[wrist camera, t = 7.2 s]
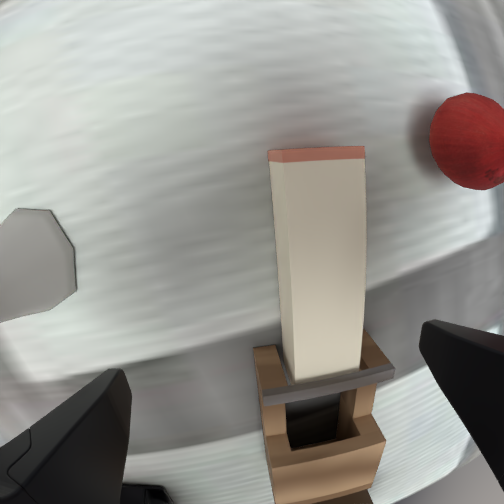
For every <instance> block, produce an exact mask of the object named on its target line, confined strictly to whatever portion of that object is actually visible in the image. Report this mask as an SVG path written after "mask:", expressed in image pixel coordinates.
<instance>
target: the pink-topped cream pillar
mask: <svg viewBox="0 0 504 504" xmlns="http://www.w3.org/2000/svg"><path fill="white" fill-rule="evenodd" d="M364 159H365V149H364V146H345V147H317V148H298V149H283V150H270V151H268V161H269V168H270V180H271V191H272V203H273V215H274V228H275V241H276V254H277V268H278V282H279V296H280V311H281V327H282V344H283V361H284V364H285V368H286V371H287V374H288V377H289V380H290V383H291V385H295V384H301V383H306V382H311V381H316V380H321V379H326V378H331V377H336V376H340V375H345V374H349V373H353V372H358V371H359V366H360V356H361V345H362V333H363V320H364V304H365V284H366V244H367V220H366V180H365V160H364Z"/></svg>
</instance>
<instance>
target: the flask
mask: <svg viewBox="0 0 504 504" xmlns="http://www.w3.org/2000/svg"><path fill="white" fill-rule="evenodd" d="M74 292H76V285H75V271H74V252H73V247H72V246H71V244H70V243H69V241H68V240H67V238H66V237H65V235H64V233H63V232H62V230H61V229H60V227H59V225H58V224H57V222H56V220H55V219H54V217H53V215H52V214H51V212H50V211H46V210H28V209H15V210H14V211H13V212H12V213H11V214H10V215H9V216H8V217H7V218H6V219H5V220H4V221H3V222H2V224H1V225H0V323H1V322H5V321H8V320H12V319H15V318H19V317H22V316H27V315H32V314H36V313H41V312H45V311H48V310H51V309H52V308H54V307H55V306H56V305H58V304H59V303H60V302H62V301H63V300H65V299H66V298H67V297H69V296H70V295H72V294H73V293H74Z"/></svg>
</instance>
